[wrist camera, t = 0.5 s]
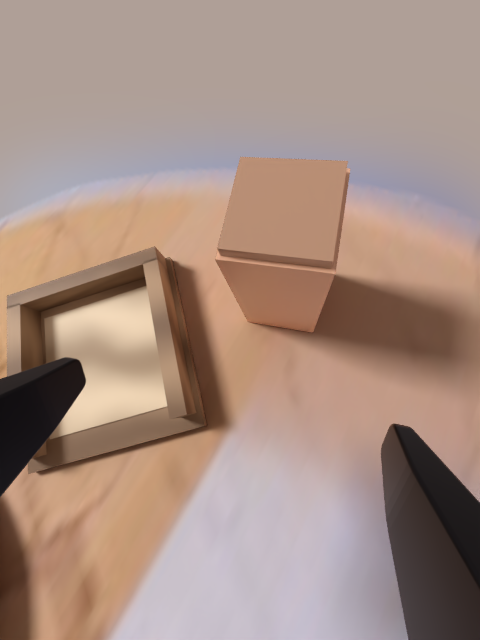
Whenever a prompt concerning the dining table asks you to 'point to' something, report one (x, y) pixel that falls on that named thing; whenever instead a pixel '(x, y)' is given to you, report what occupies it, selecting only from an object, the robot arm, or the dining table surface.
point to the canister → (283, 238)
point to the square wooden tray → (110, 355)
